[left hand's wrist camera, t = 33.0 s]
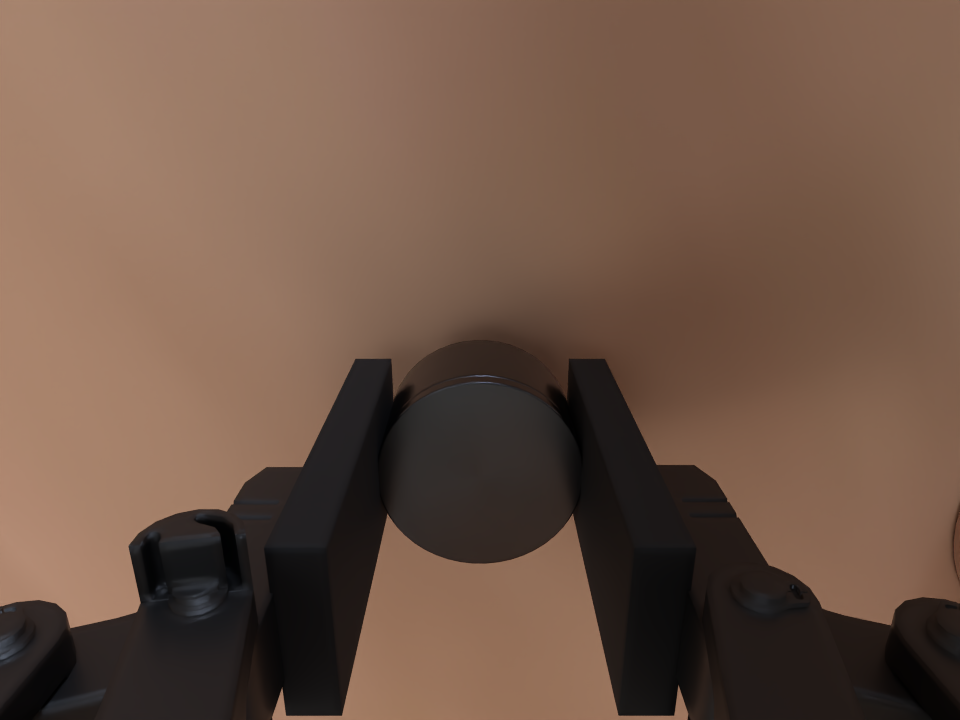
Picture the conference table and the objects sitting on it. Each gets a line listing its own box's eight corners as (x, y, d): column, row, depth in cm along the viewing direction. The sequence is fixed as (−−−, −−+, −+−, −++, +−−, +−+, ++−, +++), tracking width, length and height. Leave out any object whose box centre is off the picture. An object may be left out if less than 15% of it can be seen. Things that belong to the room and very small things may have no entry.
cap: (570, 494, 15) (585, 559, 13) (400, 503, 15) (388, 569, 13) (567, 333, 14) (583, 375, 12) (382, 344, 14) (363, 388, 12)
